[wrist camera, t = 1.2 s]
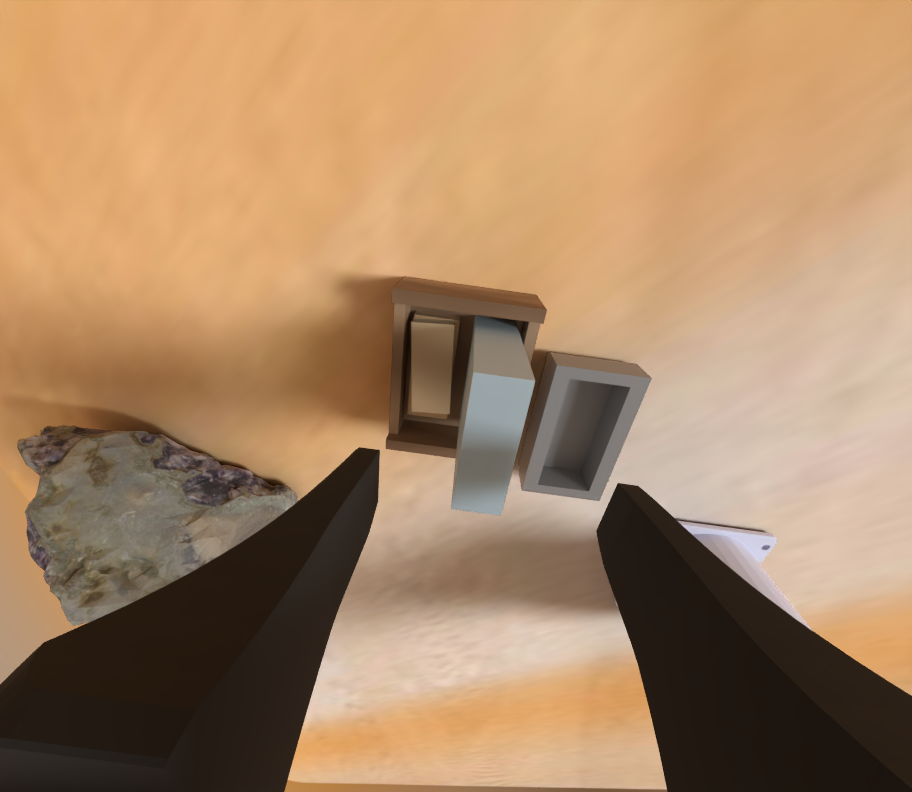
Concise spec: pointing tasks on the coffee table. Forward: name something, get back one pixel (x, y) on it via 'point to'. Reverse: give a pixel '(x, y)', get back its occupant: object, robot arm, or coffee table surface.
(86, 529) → the mineral rock
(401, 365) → the frame
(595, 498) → the stand
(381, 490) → the coffee table surface
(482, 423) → the pale blue flat block
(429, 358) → the block
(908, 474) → the coffee table surface
